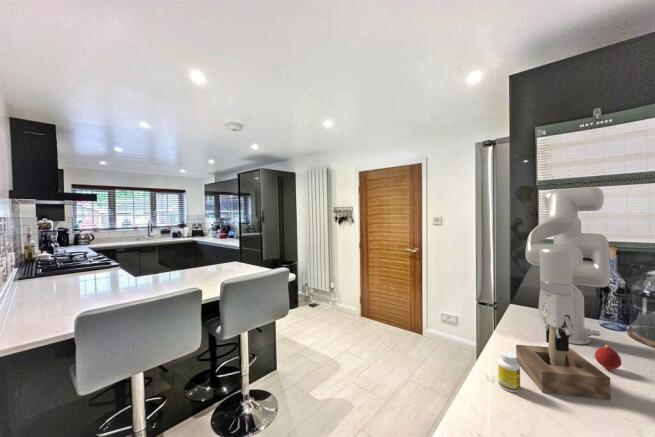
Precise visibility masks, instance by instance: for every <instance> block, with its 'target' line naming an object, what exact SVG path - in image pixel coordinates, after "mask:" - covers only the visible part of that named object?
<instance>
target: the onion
mask: <svg viewBox="0 0 655 437" xmlns="http://www.w3.org/2000/svg"><path fill="white" fill-rule="evenodd" d="M594 358H595V360H596V362H597V363H598V364H600V365H601V366H602V367H603V369H605V370H607V371H613V370H617V369H619V368H620V366H622V359H621V357H620V355H619V354H618V352H617V351H616V350H614V349H612V348H611V346H609V345H608V344H603V346H602V347H599V348H598V349H597V350H595V352H594Z"/></svg>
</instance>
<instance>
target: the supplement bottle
mask: <svg viewBox="0 0 655 437" xmlns="http://www.w3.org/2000/svg"><path fill="white" fill-rule="evenodd" d="M497 368H498V370H497V374H498V375H497V376H498V377H497V379H498V380H497V381H498V386H499V387H500V388H502V389H503V390H505V391H507V392H511V393H519V392H520V391H521V367H520V365H519V364H518V363H517V356H516V353H514V352H512V351H508V350H503V351H500V358H499V359H498V360H497Z"/></svg>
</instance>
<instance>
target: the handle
mask: <svg viewBox="0 0 655 437" xmlns="http://www.w3.org/2000/svg"><path fill="white" fill-rule="evenodd" d="M543 320H544V321H546V317H544V316H543ZM543 320H542V321H543ZM544 321H543V322H544ZM562 327H565V326H564V325H562ZM562 331H564V330H560V333H561V332H562ZM555 337H557V335H556V328H554V327H552V326H551V325H549V343H548V347H549V357H550V364H551V365H553V366H565V364H564V363H565V357H566V351H557V350H556V349H555Z"/></svg>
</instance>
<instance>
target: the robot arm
mask: <svg viewBox="0 0 655 437" xmlns="http://www.w3.org/2000/svg"><path fill="white" fill-rule="evenodd" d="M604 201H605V196H604V192H603V190H602V189H601V188H600V187H597V186H595V187H594V186H593V187H591V186H590V187H589V186H588V187H578V188H576V187H575V188H563V189H555V190H550V191H548V192H546V193H545V194H544V195H543V202H544V205H545V208H546V215H545V220H544V221H542V222H541V223H539V224H538V225H537V226H535V227H534V228H533V229H532V230H531V231H530V233H529V234H528V237H527V240H526V245H525V246H526V247H525V253H524V256H525V259H526V261H527V262H528V264H530V265H533V266H539V280H540V281H539V286H540V288H539V289H540V290H539V296H538V317H539V318H540V320H542V321H543V322H544V323H545V324H544V327H545V336H546V337H545V338H546V340H545V342H546V343H547V344H549V325H551V326H552V327H554V328H556V335H557V337H555V349H556V350H557V351H569V348H570V344H573V345H588V344H591V338H590V336H595V337H597V336H598V337H599V336H601V333H600V331H599V330H593V329H592V330H591V328H586V327H585V298H584V294H583V292H582V291H581V290H580V289H579V288H578V287H577V286H579V285H580V286H587V287H595V288H606V287H607V286H608V285H609V284H610V282H611V264H610V263H611V262H610V260H611V259H610V258H611V257H610V245H609V241H608V238H607V237H606V236H605V235H603V234H601V233H600V234H599V233H591V232H590V233H587V232H586V233H583V232H582V221H581V219H580V218H579V217H578V216H579V215H578V213H579V212H597V211H600V210H602V207H603V205H604ZM551 237H553V243H540V242H542V241H544V240H546V239H548V238H551ZM584 258H587V259H588V258H590V259H591V260H592V261H589V260H583V259H584ZM576 285H577V286H576ZM543 316H544V317H546V321H544V320H543ZM562 325H564V326H565V327H562ZM560 330H564V331H562V332H561V333H560Z"/></svg>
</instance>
